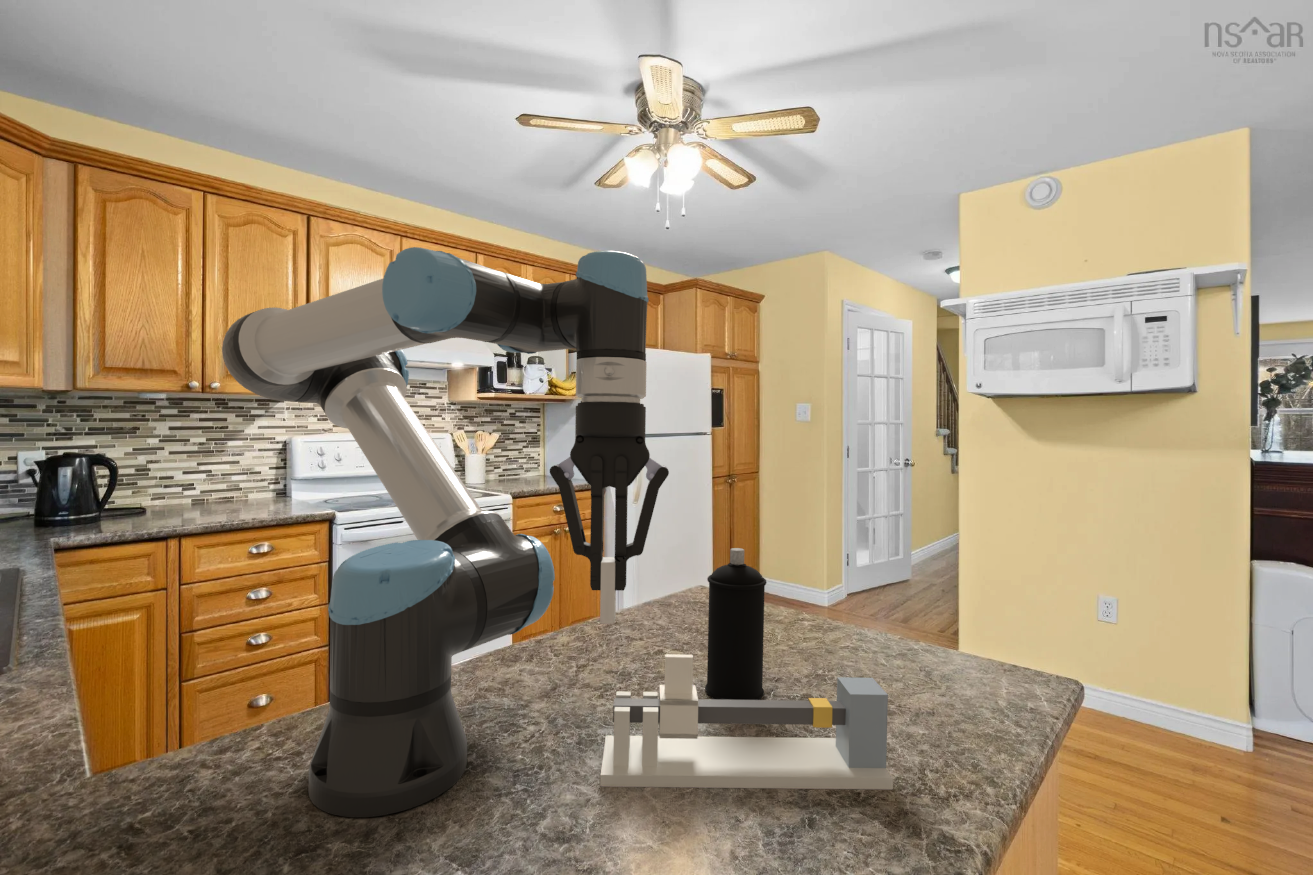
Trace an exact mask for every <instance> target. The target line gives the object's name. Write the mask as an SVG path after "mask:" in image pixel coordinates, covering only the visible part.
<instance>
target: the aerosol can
mask: <svg viewBox="0 0 1313 875" xmlns="http://www.w3.org/2000/svg"><path fill="white" fill-rule="evenodd" d="M729 551H730V554H729V555H730V558H729V563H728V564H724V565H722V566H720V567H717V568H716V569H715V570H713V572H712V573H711V574H710V575H708V576H707V578H706V579H707V580H706V581H707V582H708V619H707V620H708V621H707V622H708V623H707V624H708V626H707V628H708V629H707V631H708V632H707V673H706V676H707V677H706V681H707V682H706V684H705V686H704V690H705V693H706V694H707V695H708V697H710V698H712V699H721V700H762V698H763V697H764V695H765V690H764V688H763V683H764V682H763V677H764V676H763V675H764V673H763V672H764V671H763V670H764V634H765V633H764V630H765V629H764V628H765V624H764V623H765V591H766V590H765V586H766V585H767V583H768V582H767V579H766V578H764V577H763V574H761V573H760V571H758V570H757V569H756V568H754V567H752V566H749V565H747V564H746V563H745V549H743V548H741V547H740V548H739V547H734V548H733V547H732V548H730V550H729Z"/></svg>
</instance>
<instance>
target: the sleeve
mask: <svg viewBox="0 0 1313 875" xmlns="http://www.w3.org/2000/svg"><path fill="white" fill-rule="evenodd" d="M693 680H694V656H693V654H677V653H676V654H673V653H672V654H671V653H669V654H668V653H667V654H664V684H659V694H658V695H659V697H658V699H660V723H658V736H660V738H678V739H698V734H699V723H698V699H699V697H698V693H697V687H696V685H695V684H693V682H694V681H693Z"/></svg>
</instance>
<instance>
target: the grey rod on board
mask: <svg viewBox="0 0 1313 875" xmlns="http://www.w3.org/2000/svg"><path fill="white" fill-rule="evenodd" d="M631 692H632V691H621V690H620V691H616V693H615V694H616V695H615V697H614V698H613V704H612V723H613V735H609V734H608V735H605V741H604V747H603V754H602V761H601V768H600V769H601V770H600V783H599V784H600V787H606V788H607V787H609V788H610V787H612V788H614V787H617V788H620V787H621V788H625V787H626V788H700V789H701V788H702V789H703V788H706V789H707V788H711V789H712V788H713V789H717V788H718V789H720V788H721V789H794V790H795V789H801V790H802V789H806V790H807V789H809V790H810V789H814V790H817V789H818V790H829V789H830V790H890V791H891V790H893V789H894V777H893V776H892V774H891V773H890V771H889V770H888V769H887V754H888V753H887V750H888V746H887V744H888V741H887V740H888V714H889V713H888V711H889V710H888V708H889V707H888V706H889V705H888V704H889V694H888V693H887V692H886V691H885V689H883V687H882V686H881V685H880V684H879V683H878V681H876V680H875V679H874V678H873V677H850V676H849V677H844V676H843V677H841V676H840V677H838V676H837V677H836V700H828V698H827V697H808V700H800V699H799V700H796V699H795V700H791V699H790V700H789V699H788V700H786V699H785V700H784V699H781V700H780V699H760V700H721V699H713V698H712V699H711V698H710V699H709V698H708V699H706V698H705V699H703V698H700V699H699V698H698V724H712V725H713V724H717V725H718V724H722V725H723V724H724V725H726V724H728V725H729V724H730V725H733V724H734V725H800V726H801V725H806V726H808V725H809V726H812V727H813V728H817V729H818V728H820V729H821V728H825V729H826V728H831V729H832V728H833V726H835V737H785V736H784V737H783V736H782V737H777V736H776V737H771V736H767V737H766V736H764V737H763V736H698V739H678V738H660V736H659V723H660V699H659V697H658V695H659V694H658V691H643V692H642V696H643V697H642V698H641V697H640V698H637V697H635V698H633V697H632V696H631V695H632V693H631ZM631 723H636V724H637V723H639V724H640V723H641V724H642V735H631Z"/></svg>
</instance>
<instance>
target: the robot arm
mask: <svg viewBox="0 0 1313 875" xmlns="http://www.w3.org/2000/svg"><path fill="white" fill-rule="evenodd" d="M576 269H577V270H576V272H575V277H576V278H575V279H570V280H567V281H561V282H551V283H539V282H536V281H532V280H529V279H526V278H523V277H519V276H516V275H513V274H510V273H507V272H503V271H502V270H501V271H499V270H497V269H493V268H490V267H487V266H484V265H482V264H479V263H475V262H472V261H470V260H468V259H467V260H466V259H463V258H460V257H458V256H456V255H454V254H452V253H450V252H445V251H442V250H433V249H428V248H423V247H418V246H416V247H415V246H414V247H413V246H412V247H408V248H405V249H403V250H401V251H400V252H398V253H397V254H396V256H395V260H392V261H390V262H389V263H388V265H387V267H386V270H385V273H384V275H383V278H380V279H377V280H374V281H371V282H369V283H368V282H367V283H364V284H361V285H359V286H356V287H353V288H350V289H347V290H344V291H341V292H338V293H335V294H332V295H330V296H329V295H328V296H325V297H323V298H320V299H318V300H314V301H312V302H308V303H305V304H301V305H299V306H296V307H293V308H290V309H287V308H281V307H274V306H273V307H265V308H261V309H259V310H256V311H252V312H251V313H250V312H249V313H247V314H245V315H244V316H241V317H240V318H238V319H236V320H235V321H234V323H232V324H231V325H230V327H229V328H228V330H227V331H226V333H225V335H224V337H223V341H222V346H221V352H222V359H223V363H224V366H225V367H226V369H227V371H228V373H229V374H230V375H231V376H232V378H233V379H234V380H235V381H236V383H238V384H239V385H240V386H242V387H243V388H244V389H246V390H247V391H250V392H251V393H253V394H255V395H257V396H260V397H262V398H264V399H265V398H266V399H268V400H273V401H278V402H279V401H280V402H292V403H307V404H308V403H310V404H317V405H319V406H320V408H321V410H322V411H323V413H324V414H325V416H326V417H327V419H328V420H329V421H330V423H332V424H333V425H334V426H337V427H338V428H343V429H348V431H349V432H350V434H351V435H352V437H353V439H354V440H355V441H356V444H357V445H358V446H359V449H360V450H361V452H362V453H363V455H364V456H365V458H366V460H367V461H368V463H369V465H371V468H372V469H373V470H374V472H375V474H376V476H377V477H378V479H379V480H380V482H381V483H382V485H383V487H384V488H385V490H386V492H387V493H388V494H389V496H390V498H391V500H392V501H393V503H394V504H395V505H396V507H397V509H398V511H399V512H400V513H401V515H402V517H403V519H404V521H405V522H406V523H407V525H408V527H409V528H410V530H411V531H412V533H413V534H414V536H415V537H416V539H415V540H414V539H413V540H407V541H405V542H404V541H403V542H392V543H387V544H386V543H385V544H382V545H377V546H374V547H371V548H368V549H365V550H363V551H360V552H357V553H355V554H353V555H352V556H350V557H348V558H347V559H345V560H344V561H342V562H341V563H340V565H339V566H338V568H336V571H334V574H333V577H332V581H331V590H330V600H329V601H330V602H329V604H328V607H327V608H328V616H329V618H330V622H329V623H330V625H329V626H330V628H329V629H330V630H329V631H330V633H329V634H330V637H329V641H330V642H329V643H330V645H329V707H328V708H329V709H328V713H327V715H326V718H325V720H324V725H323V726H322V730H321V732H320V736H319V739H318V741H317V744H316V746H315V750H314V752H313V755H312V758H311V761H310V764H309V769H308V797H309V799H310V801H311V803H312V804H313V805H314V806H315V807H317V808H318V809H319V810H321V811H324V812H325V813H328V814H331V815H335V816H340V817H348V818H369V817H370V818H373V817H380V816H385V815H386V816H387V815H391V814H396V813H400V812H403V811H407V810H410V809H412V808H415V807H418V806H421V805H423V804H425V803H428V802H430V801H431V800H434V799H435V798H437V797H438V796H440V795H442V794H443V793H446V791H448V790H449V789H450V788H452V787H453V786H454V785H455V784H457V782H458V781H459V780H460V779H461V777H462V776H463V774H464V773H465V770H466V768H467V764H468V740H467V736H466V733H465V732H466V731H465V730H464V727H463V724H462V720H461V718H460V715H459V712H458V708H457V705H456V702H455V700H454V697H453V694H452V662H453V661H452V660H453V659H452V657H453V656H455V655H457V654H459V653H462V652H465V651H468V650H470V649H473V648H475V647H478V646H481V645H484V644H487V643H490V642H492V641H495V640H497V639H500V638H502V637H504V636H509V635H514V634H516V633H518V632H520V631H521V630H523V629H524V628H526V627H528V626H530V625H532V624H535V623H536V622H537V621H539V620H540V619H541V618H542V617H543V615H544V614H545V613H546V612H547V610H548V608H549V607H550V604H551V602H552V599H553V596H554V590H555V587H554V581H555V579H556V578H555V577H556V576H555V568H554V563H553V560H552V557H551V554H550V552H549V551H548V548H546V546H545V544H544V543H543V542H542V541H541V540H540V539H538V538H536V537H535V536H533V535H527V534H524V533H517V534H514V532H513V531H512V530H511V529H510V527H509V526H508V524H507V522H505V520H504V519H503V518H502V515H500V514H499V513H498V512H496V511H493V510H482V508H481V506H479V504H478V502H477V501H476V499H475V498H474V496H473V495H472V494H471V492H470V491H469V490H468V488H467V487H466V485H465V483H464V482H463V480H462V479H461V478H460V477H459V475H458V474H457V472H456V471H455V469H454V468H453V466H452V465H451V464H450V462H449V461H448V459H447V458H446V455H445V454H444V453H443V452H442V451H441V449H440V447H439V446H438V445H437V443H436V442H435V440H434V439H433V438H432V436H431V435H430V433H429V432H428V430H427V429H426V427H425V426H424V425H423V423H422V422H421V420H420V419H419V417H418V416H417V414H416V413H415V411H414V410H413V409H412V407H411V406H410V404H409V403H408V402H407V400H406V396H407V391H408V384H409V379H410V375H409V374H410V371H409V369H407V368H406V366H407V365H408V360H407V357H406V354H405V352H404V350H405V349H409V348H414V347H418V346H422V345H427V344H433V343H438V342H441V341H445V340H450V339H466V340H467V339H468V340H471V341H472V340H473V341H479V342H484V343H490V344H495V345H497V346H498V347H499V348H500V349H501V350H503V351H505V352H507V353H512V354H514V353H521V354H527V355H531V354H536V353H541V352H550V351H551V352H552V351H559V350H560V351H561V350H572V349H574V350H575V352H576V362H575V364H576V365H575V366H576V374H575V396H576V397H577V398H580V399H581V400H580V402H578V403H577V405H575V424H574V425H575V428H574V429H575V431H574V433H575V436H574V438H575V439H574V444H573V446H572V448H571V450H570V453H569V455H570V456H569V457H567V458H565V459H564V460H563V461H561V462H560V463H558V464H555V465H552V466H551V467H550V469H549V473H550V474H549V475H550V476H551V478H552V479H553V480H554V482H555V484H556V486H557V487H558V490H559V494H560V499H561V501H562V507H563V511H564V514H565V515H564V516H565V519H566V524H567V530H568V534H569V537H570V542H571V545H572V551H573V553H574V554H575V555H577V556H582V557H585V558H587V559H588V560H589V564H590V569H589V570H590V571H589V573H590V575H589V578H590V579H589V582H590V583H589V585H590V588H591V591H600V598H599V599H600V602H599V603H600V604H599V605H600V606H599V607H600V608H599V609H600V612H599V613H600V616H599V617H600V618H599V619H600V620H599V621H600V622H599V624H600V625H614V624H615V622H616V617H617V616H616V613H617V612H616V608H617V607H616V606H617V605H616V603H617V602H616V601H617V598H616V597H617V591H624V590H625V589H626V587H627V568H628V567H627V562H628V560H629V559H630V558H633V557H637V556H641V555H643V552H644V549H645V545H646V540H647V538H648V533H649V529H650V526H651V522H652V518H653V513H654V510H655V507H656V503H657V498H658V494H659V490H660V488H661V487H662V485H663V484H664V482H665V481H666V479H667V478H668V476H669V474H670V472H669V469H668V467H667V466H665V465H661V464H660V463H658V462H657V461H656V460H655V459H652V458H651V457H650V456H651V454H650V450H649V448H648V447H647V443H646V421H647V418H646V417H647V414H646V412H647V411H646V410H647V408H646V406H645V404H644V403H641V400H642V399H645V397H646V396H647V353H646V351H647V349H646V348H647V321H648V320H647V318H648V317H647V316H648V303H649V301H650V300H649V297H648V281H647V268H646V265H645V263H644V261H642V259H641V258H639V257H638V256H636V255H633V254H631V253H627V252H623V251H615V250H598V251H592V252H589V253H587V254H584V255H582V256H581V257H580V258H579V259H578V261H577V268H576ZM644 467H646V474H645V478H646V479H647V481H648V484H647V487H646V491H645V494H644V498H643V502H642V506H641V509H640V514H639V518H638V521H637V526H636V529H635V533H634V538H633V541H632V542H630V543H628V494H629V493H628V489H629V486H631V485H632V484H633V482H634V481H635V480H636V479H637V477H638V476H639V474H640V473H641V471H643V469H644ZM574 468H576V469H577V471H578V472H579V473H580V475H581V476H582V477H583V479H584V480H585V481H586V484H588V485H589V486H590V542H587V539H586V535H585V531H584V526H583V522H582V516H581V514H580V508H579V503H578V500H577V499H578V498H577V496H576V495H577V494H576V491H575V486H574V484H573V480H572V479H573V478H574V477H575V472H574ZM608 487H610V488H614V497H615V498H614V499H615V500H614V502H615V503H614V505H615V506H614V508H615V509H614V556H604V525H605V524H604V523H605V522H604V520H605V519H604V518H605V490H606V489H605V488H608Z"/></svg>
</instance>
